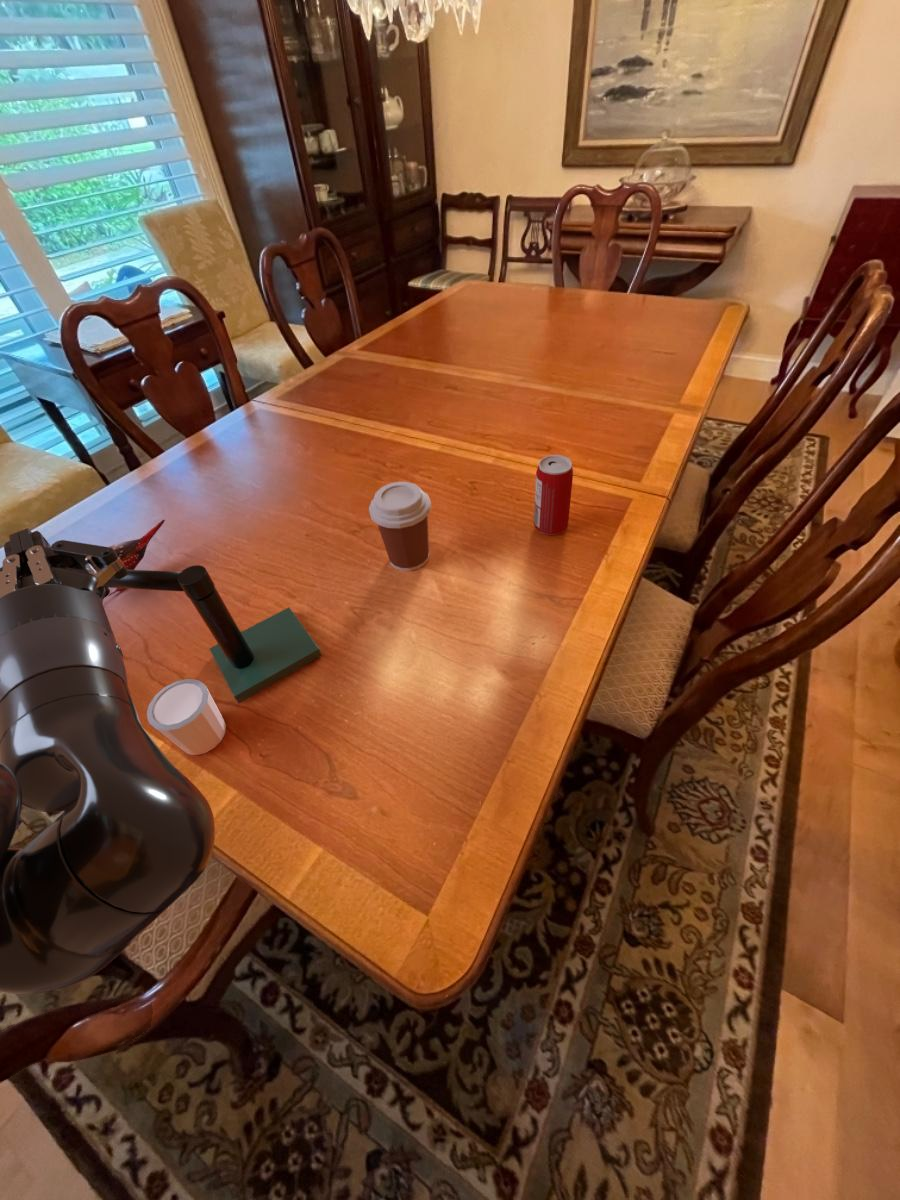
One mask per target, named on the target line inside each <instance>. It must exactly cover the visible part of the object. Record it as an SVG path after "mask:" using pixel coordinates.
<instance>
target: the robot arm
mask: <svg viewBox="0 0 900 1200" xmlns="http://www.w3.org/2000/svg"><path fill="white" fill-rule="evenodd" d="M8 539H9V540H8V541H6V542H5V543H4V545H3V550H4V556H5V558H4V559H3V560H2V566H1V567H0V993H4V994H11V995H12V994H13V995H34V994H41V993H49V992H52V991H57V990H60V989H63V988H66V987H70V986H72V985H75V984H78V983H80V982H83V981H85V980H86V979H88V978H91V977H92V976H94V975H96V974H97V973H99V972H101V970H103V969H104V968H106V967H107V966H108V965H109V964H110V963H111V962H113V960H115V959H116V958H117V957H118V956H120V954H121V953H123V951H124V950H126V948H128V947H129V946H130V945H131V944H132V942H134V941H135V940H136V939H137V938H138V937H139V936H140V935H141V934H142V933H143V932H144V931H145V930H146V929H147V928H148V927H149V926H150V925H151V924H152V923H154V922H155V920H157V918H159V917H160V916H161V915H162V914H163V913H164V912H165V911H166V910H167V909H168V908H169V907H170V906H171V905H173V904H174V902H176V901H177V900H178V899H179V898H180V897H181V896H182V895H184V894H185V892H186V891H187V890H189V889H190V887H192V885H194V883H195V882H196V881H197V880H198V879H199V878H200V877H201V875H202V874H203V873H204V871H205V870H206V868H207V867H208V865H209V863H210V860H211V858H212V854H213V852H214V847H215V839H216V825H215V817H214V812H213V810H212V807H211V804H210V803H209V801H208V799H207V798H206V797H205V795H204V794H203V793H202V791H200V789H199V788H198V787H197V786H196V785H195V784H194V783H193V782H192V781H191V780H190V779H189V778H188V777H187V776H186V775H185V774H183V772H182V771H181V770H179V768H178V767H176V766H175V765H174V764H173V762H172V761H171V760H170V758H168V756H167V755H166V754H165V753H164V752H163V751H162V750H161V749H160V747H159V746H158V745H157V744H156V742H155V741H154V739H153V738H152V737H151V736H150V734H149V733H148V732H147V731H146V729H145V728H144V727H143V725H142V723H141V720H140V717H139V714H138V710H137V708H136V705H135V703H134V700H133V697H132V694H131V691H130V689H129V684H128V682H129V681H128V674H127V668H126V666H125V665H126V664H125V662H124V654H123V651H122V649H121V646H120V645H119V644H118V642H117V640H116V637H115V634H114V631H113V629H112V625H111V623H110V621H109V618H108V615H107V612H106V610H105V606H104V604H103V602H104V599H105V598H106V597H105V594H106V591H105V588H104V586H103V585H104V584H105V583H106V582H107V581H108V580H109V579H110V578H113V579H121V578H123V577H125V576H126V575H127V574H128V570H127V568H126V567H125V565H124V564H123V563H122V561H121V560H120V558H119V557H118V555H117V554H116V553H115V551H114V550H113V548H110V546H104V545H96V544H92V543H85V542H79V541H72V540H65V539H60V540H57V541H55V542H53V543H52V544H50V543H49V542H48V540H47V539H46V537H44V535H43V534H42V532H40V531H39V530H34V531H32V530H31V529H29V527H26V528H25V529H20V530H19V531H16V532H13V533H11V534H9V535H8ZM66 568H67V569H66ZM104 597H105V598H104ZM23 807H24V808H27V809H28V810H32V811H36V812H39V813H40V812H42V813H61V812H62V813H61V814H60V815H59V816H58V817H57V818H56V819H55V820H54V821H52V823H50V824H49V825H48V826H47V827H46V828H45V829H44V830H42V832H41V833H39V835H37V836H36V837H35V838H34V839H33V840H32V841H31V842H30V843H29V844H27V845H26V846H25V847H10V845H11V844H12V841H13V840H14V837H15V834H16V832H17V829H18V826H19V823H20V819H21V813H22V808H23Z"/></svg>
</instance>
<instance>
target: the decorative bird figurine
mask: <svg viewBox="0 0 900 1200" xmlns="http://www.w3.org/2000/svg"><path fill="white" fill-rule="evenodd" d="M165 521H166V519H162V520H161V521H159V522H158V523H157V524H156V525H155V526H153V528H151V529H150V530H149V531H147V533H145V534H144V535H143V536H141V537H140V538H138V539H132V540H127V541H122V542H119V543H115V544H113V545H110V546H109V547H110V548H113V550H114V551H115V553H116V554H117V555H118V557H119V558H120V560H121V561H122V563H123V564H124V565H125V567H126V568H127V570H136V568H137V567H138V565H139V564H140V563H141V561H142V560H143V558H144V557H145V554H146V551H147V548H148V545H149V543H150V541H151V539H152V538H154V536H155V535H156V534H157V532H158V531H159V530H160V529H161V527H162V526H163V524H164V523H165ZM66 569H67V568H66ZM123 590H125V588H115V591H113V592H110V593H109V595H108V597H110V596H112V595H114V594H116V593H117V592H121V591H123Z"/></svg>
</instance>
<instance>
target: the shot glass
mask: <svg viewBox="0 0 900 1200" xmlns="http://www.w3.org/2000/svg"><path fill="white" fill-rule="evenodd" d="M146 718H147V721H148V724H149V725H151V727H153V728H154V729H155V730H157V731H158V732H159V733H161V735H163V736H164V737H165V738H167V739H168V740H169V741H170V742H171V743H173V744H174V745H175V746H177V747H178V748H179V749H180V750H181V751H183V752H184V753H185V754H186V755H191V756H199V755H203V754H206V753H208V752H210V751H211V750H212V751H213V749H215V748H216V747H217V746H218V745H219V744H220V743H221V742H222V741H223V738H224V737H225V734H226V731H227V724H226V721H225V719H224V717H223V715H222V713H221V712H220V710H219V708H218V705H217V704H216V702H215V700H214V697H212V695H211V693H210V691H209V689H208V686H206V684H205V683H204V682H202V681H200V680H199V679H193V678H185V679H180V680H176V681H173V682H171V683H170V684H167V685H166V686H164V687H163V688H162V689H161V690H159V691H158V693H156V694H155V695H154V696H153V698H152V699H151V701H150V702H149V704H148V707H147V710H146Z"/></svg>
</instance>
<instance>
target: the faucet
mask: <svg viewBox="0 0 900 1200" xmlns="http://www.w3.org/2000/svg"><path fill="white" fill-rule="evenodd" d="M189 600H190V602H191V604H192V605H193V607H194V608H195V609H196V611H197V612H198V614H199V616H200V618H201V619H202V621H203V623H204V624H205V625H206V627H207V629H208V630H209V631H210V633H211V635H212V637H213V638H214V640H215V641H216V643H217V644H215V645H213V646H211V647H209V649H208V650H209V651H210V653H211V655H212V657H213V659H214V660H215V663H216V665H217V666H218V669H219V670H220V673H221V674H222V676H223V678H224V680H225V682H226V684H227V685H228V687H229V689H230V692H231V693H232V695H233V697H234V699H235V700H236V702H237V703H238V704H239V703H241V702H243V701H244V700H246V699H248V698H250V697H252V696H253V695H256V694H257V693H259V692H260V691H262V690H264V689H265V688H267V687H270V686H272V684H274V683H276V682H278V681H280V680H282V679H283V678H285V677H287V676H288V675H289V676H290V674H292V673H294V672H296V671H297V670H300V669H301V668H303V667H305V666H306V665H308V664H309V663H312V662H313V661H315V660H318V659H319V658H320V657H323V655H322V652H321V649H320V647H319V646H318V645H317V644H316V642H315V640H314V639H313V638H312V637H311V635H310V634H309V633H308V631H307V630H306V628H305V627H304V626H303V624H302V623H301V622H300V620H299V619H298V618H297V617H298V616H296V615H295V613H294V611H293V610H292V608H291V607H290V606H288V607H286V608H285V609H282V610H280V611H279V612H277V613H274V614H272V615H270V616H268V617H267V618H265V619H263V620H262V621H259V622H257V623H256V624H253V625H252V626H250V627H248V628H246V629H243V630H242V631H241V630H240V628H239V626H238V625H237V623H236V621H235V620H234V618H233V616H232V613H231V612H230V610H229V609H228V607H227V605H226V604H225V602H224V600H223V598H222V597H221V595H220V593H219V591H218V589H217V588H216V586H215V587H214V590H213V591H212V592H211V593H210V594H209V595H208V596H206V597H204V598H202V599H197V600H194V599H190V598H189Z"/></svg>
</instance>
